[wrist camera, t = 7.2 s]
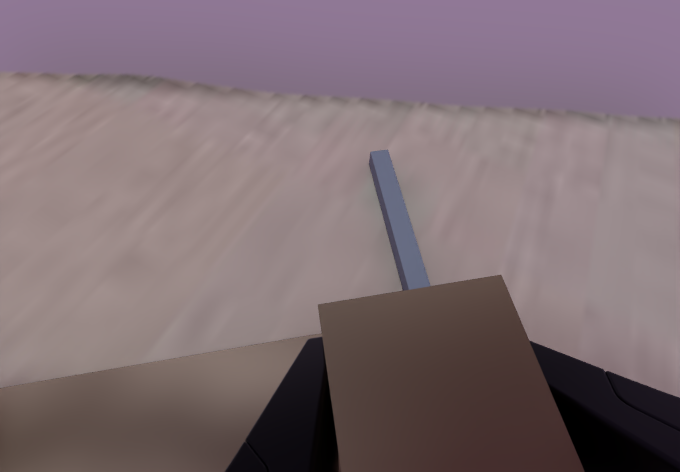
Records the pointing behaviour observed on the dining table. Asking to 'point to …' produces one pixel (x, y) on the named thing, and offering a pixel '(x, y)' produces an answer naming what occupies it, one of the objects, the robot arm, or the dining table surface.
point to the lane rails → (397, 222)
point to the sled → (345, 389)
